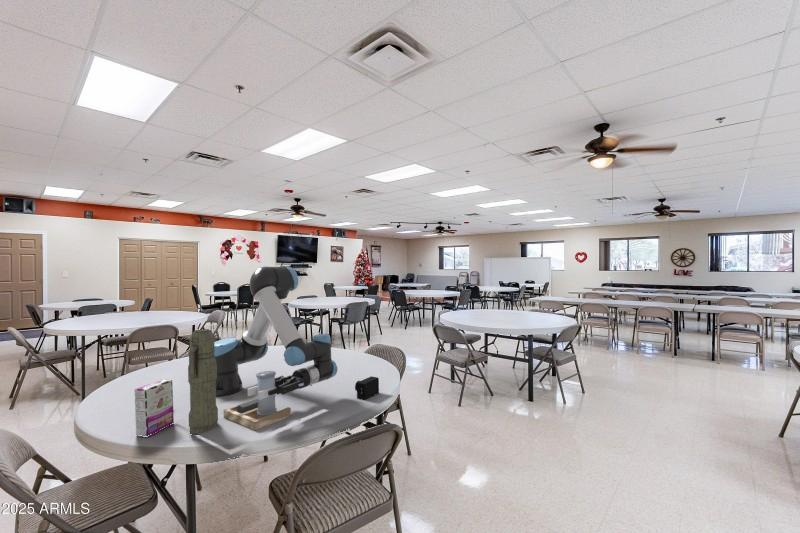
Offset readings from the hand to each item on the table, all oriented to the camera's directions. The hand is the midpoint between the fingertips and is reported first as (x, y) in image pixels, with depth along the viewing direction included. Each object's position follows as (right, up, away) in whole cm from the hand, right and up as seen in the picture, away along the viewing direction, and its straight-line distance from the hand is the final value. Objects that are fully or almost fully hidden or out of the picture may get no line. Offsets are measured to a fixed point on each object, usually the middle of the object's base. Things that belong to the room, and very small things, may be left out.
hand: (253, 394), depth 126 cm
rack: (-1, -12, +6) cm, 13 cm away
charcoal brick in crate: (-5, -11, +10) cm, 15 cm away
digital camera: (+38, -11, +29) cm, 49 cm away
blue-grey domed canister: (+3, -8, +4) cm, 9 cm away
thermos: (-17, -12, -2) cm, 21 cm away
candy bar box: (-34, -13, -1) cm, 37 cm away
